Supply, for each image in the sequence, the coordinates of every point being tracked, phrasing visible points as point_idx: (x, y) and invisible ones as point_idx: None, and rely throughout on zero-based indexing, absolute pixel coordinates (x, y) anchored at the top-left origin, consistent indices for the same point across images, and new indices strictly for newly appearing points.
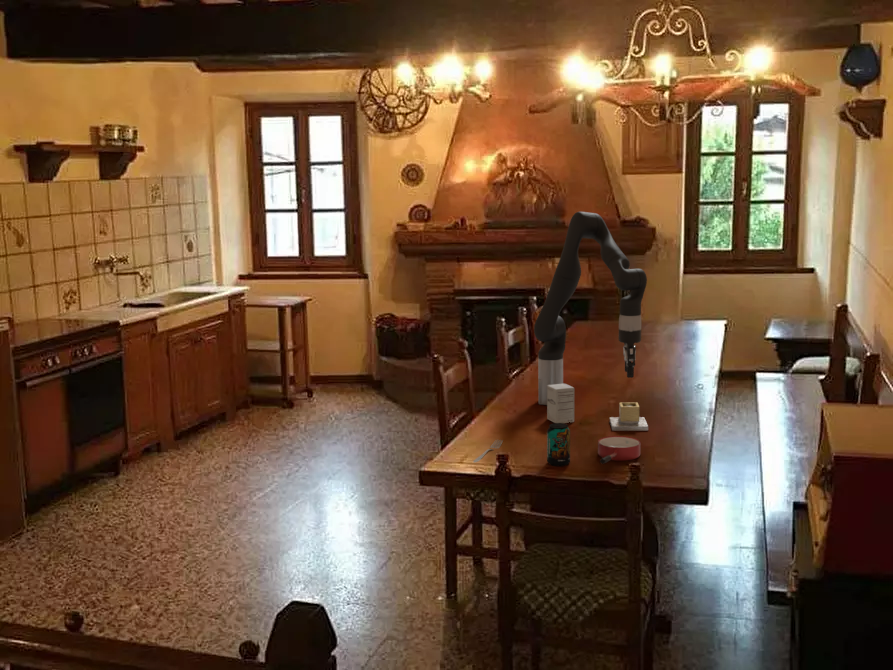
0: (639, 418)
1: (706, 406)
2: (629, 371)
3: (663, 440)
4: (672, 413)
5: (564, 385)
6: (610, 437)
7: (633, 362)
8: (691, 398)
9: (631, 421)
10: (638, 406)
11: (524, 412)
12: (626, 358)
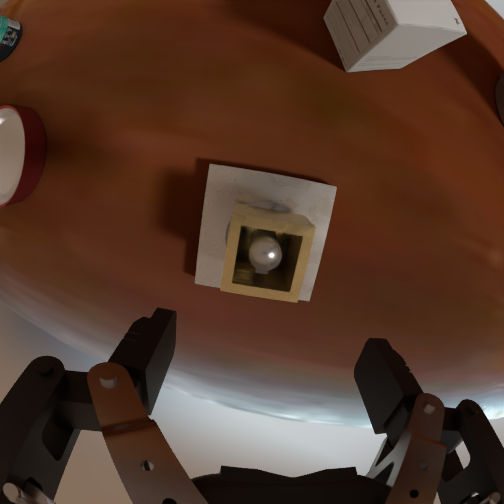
0: None
1: None
2: (122, 348)
3: (104, 287)
4: None
5: (427, 5)
6: (24, 135)
7: (52, 424)
8: None
9: (225, 240)
10: (228, 289)
11: None
12: (107, 443)
